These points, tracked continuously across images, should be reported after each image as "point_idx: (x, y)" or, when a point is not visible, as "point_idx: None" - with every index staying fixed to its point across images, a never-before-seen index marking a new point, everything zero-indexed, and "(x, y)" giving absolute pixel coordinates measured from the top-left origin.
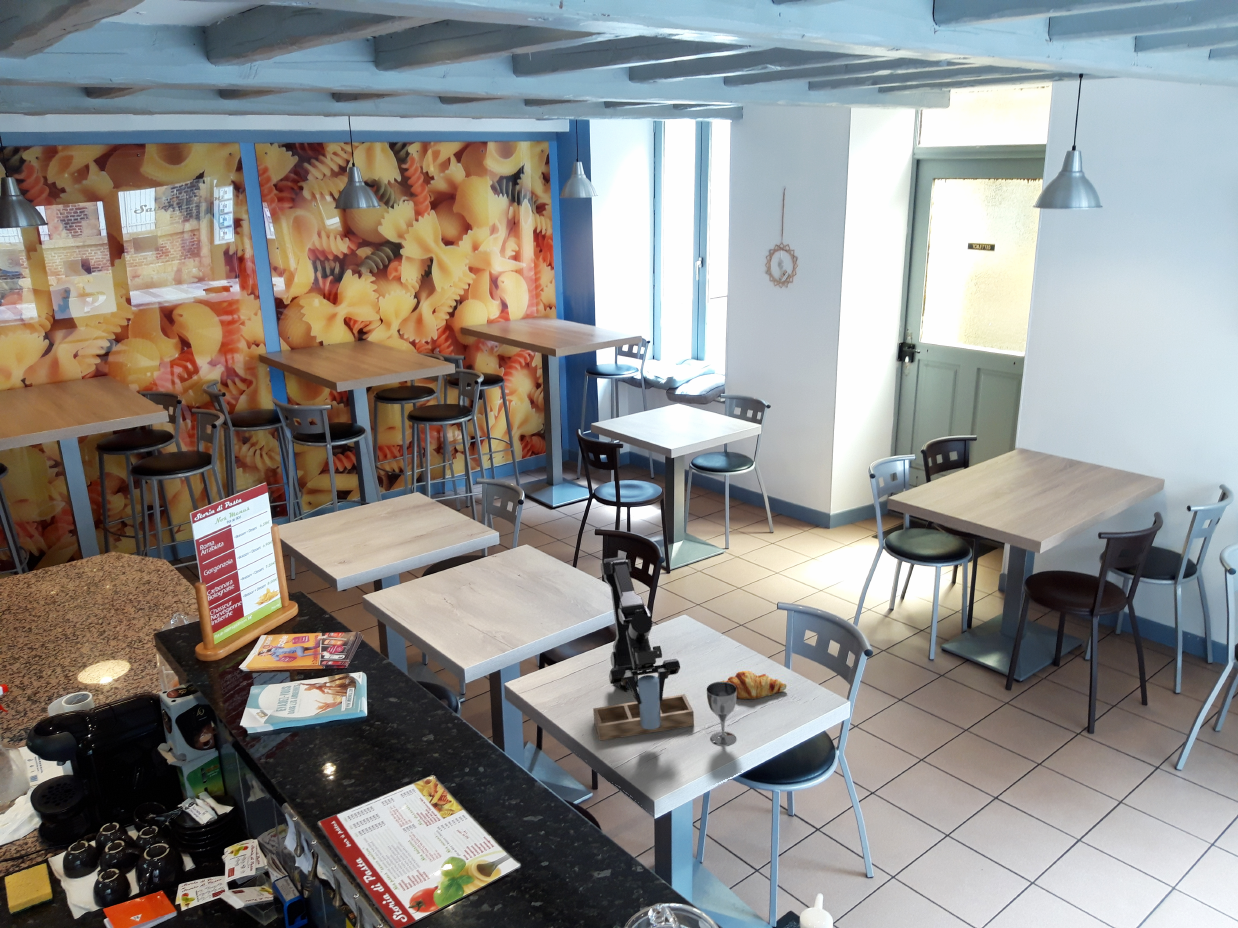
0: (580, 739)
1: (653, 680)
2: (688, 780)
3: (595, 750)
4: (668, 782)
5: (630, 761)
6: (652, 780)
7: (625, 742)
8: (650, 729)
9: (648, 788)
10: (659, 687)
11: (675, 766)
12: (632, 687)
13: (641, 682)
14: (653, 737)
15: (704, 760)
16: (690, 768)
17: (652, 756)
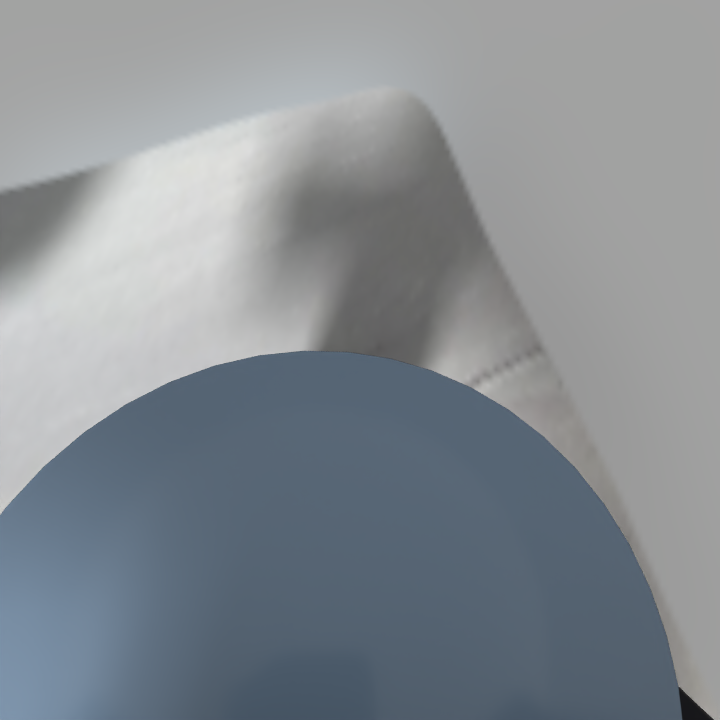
0: (702, 685)
1: (142, 647)
2: (230, 134)
3: (628, 537)
4: (326, 153)
5: (463, 373)
6: (393, 191)
7: None
8: None
9: (425, 145)
10: None
11: (252, 256)
12: (686, 708)
13: (576, 635)
14: None
15: (86, 254)
16: (185, 215)
17: None
